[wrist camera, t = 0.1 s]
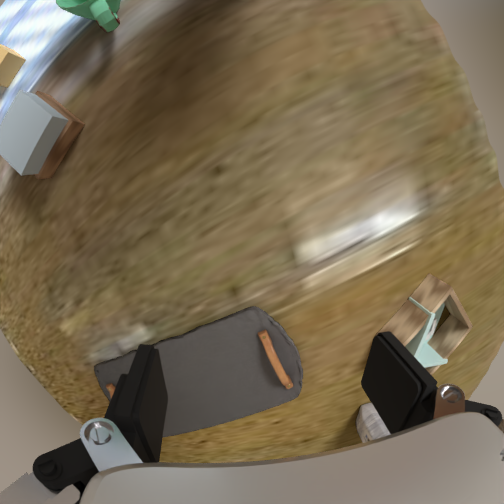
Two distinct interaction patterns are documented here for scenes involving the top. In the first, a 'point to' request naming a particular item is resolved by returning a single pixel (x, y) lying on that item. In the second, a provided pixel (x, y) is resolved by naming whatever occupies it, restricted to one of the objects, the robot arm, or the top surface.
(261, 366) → the serving board
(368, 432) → the juice carton
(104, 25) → the mug
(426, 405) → the robot arm
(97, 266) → the top surface
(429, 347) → the right angle wall
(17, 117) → the slate block
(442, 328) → the coaster caddy
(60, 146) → the walnut block
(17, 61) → the ochre cube
